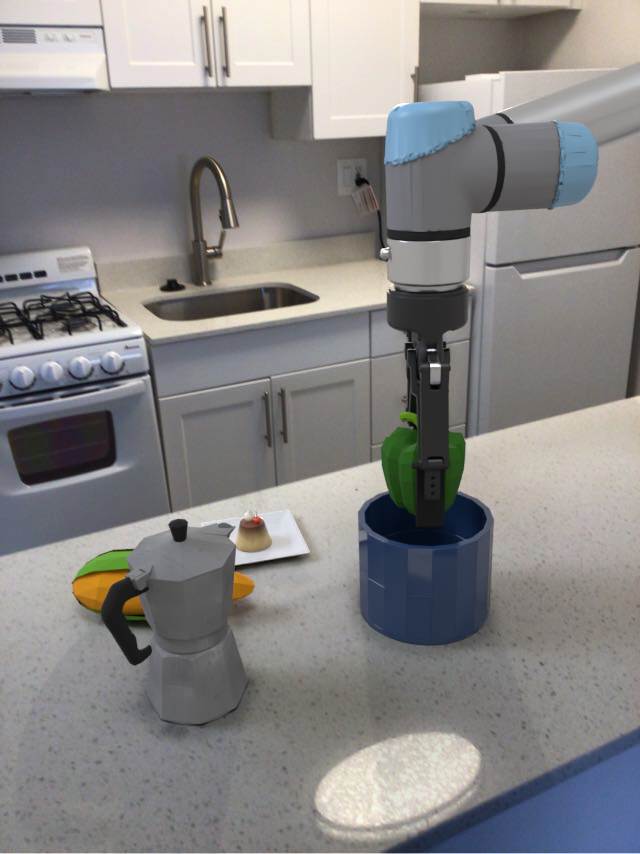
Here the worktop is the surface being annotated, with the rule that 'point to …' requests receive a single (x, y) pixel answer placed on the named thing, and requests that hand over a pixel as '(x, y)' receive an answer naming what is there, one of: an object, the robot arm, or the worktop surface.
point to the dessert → (264, 536)
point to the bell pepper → (405, 450)
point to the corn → (113, 568)
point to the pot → (425, 570)
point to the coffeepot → (183, 621)
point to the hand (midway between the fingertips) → (424, 504)
